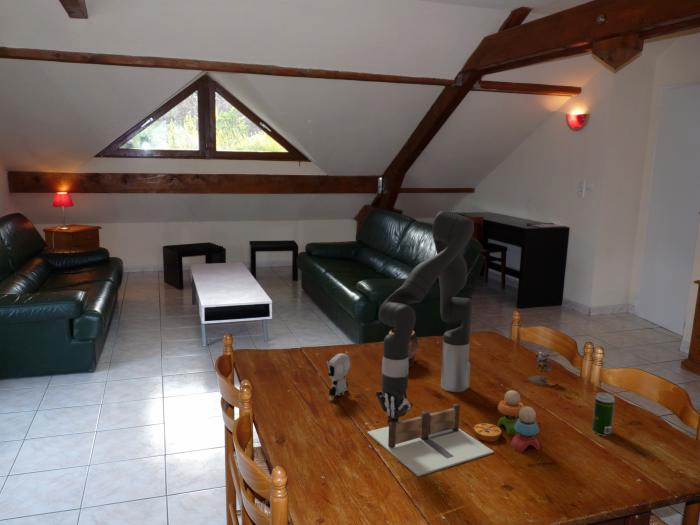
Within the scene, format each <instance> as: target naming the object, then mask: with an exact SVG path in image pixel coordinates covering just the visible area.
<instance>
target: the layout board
mask: <svg viewBox="0 0 700 525" xmlns="http://www.w3.org/2000/svg"><path fill="white" fill-rule="evenodd" d="M366 432H367V433H366V434H367V435H369V436H370V437H371V438H372V439H373V440H375V442H377V443H378V444H379V445H380V446H381V447H383V449H385V450H386V451H387V452H389V454H391V456H393V457H394V458H395V459H397V461H399V462H400V463H402V464H403V466H405V467H406V468H408V469H409V470H410V471H411V472H412V473H413V474H415V476H416V477H420V476H424V475H428V474H430V473H433V472H437V471H440V470H443V469H447V468H449V467H452V466H457V465H459V464H462V463H465V462H469V461H473V460H475V459H478V458H481V457H485V456H488V455H492V454H494V450H492V449H491V448H489V447H488V446H486V445H485V444H483V443H482V442H480V441H479V440H477V439H476V438H474V437H472V436H471V435H470V434H468V433H466V432H465V431H463V430H462V429H460V428H459V430H458V431H453V430H452V429H449V430H446V431H442V432H438V433H435V434H431V435H429V438H428V439H427V440H422V439H420V438H417V439H413V440H409V441H406V442H402V443H399V444H395V447H393V448H391V447H389V446H388V437H389V425H387V426H383V427H380V428H377V429H373V430H368V431H366Z"/></svg>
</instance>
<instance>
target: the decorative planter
mask: <svg viewBox="0 0 700 525" xmlns="http://www.w3.org/2000/svg"><path fill="white" fill-rule="evenodd" d="M394 333H395V328H391V329H390V331H388V335H389V334H394ZM418 349H419V341H418V337H417V335H416V332H415V331H414V330H413V331H412V335H411V338H410V341H409V348H408V362H409V368H411V367H412V366H413V365H414V363H415V359H416V354H417V351H418Z"/></svg>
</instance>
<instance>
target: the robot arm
mask: <svg viewBox="0 0 700 525" xmlns="http://www.w3.org/2000/svg"><path fill="white" fill-rule="evenodd" d="M474 230H475V223H474V221H473V220H472V219H471V218H468V217H466V216H464V215H461V214H459V213H455V212H453V211H450V210H441V211H438V213H437V214H436V215H435V217H434V220H433V223H432V230H431V231H432V238H433V243H434V246H435V247H434V248H435V251H436V252H435V253H436V254H435V255H434V256H432V257H430V258H428V259H426V260H424V261H422V262H420V263H419V264H417V265H416V266H415V267H414V268H413V269H412V270H411V272H409V274H408V276H407V277H406V279H405V280H404V282H403V283H402V285H401V286H400V287H399V288H397V289H396V290H395V291H394V292H393V293H391V294H390V295H389V296H388V297H387V298H386V299H385V300H384V301H383V302H382V304H381V306H380V308H379V311H378V317H379V321H380V322H381V323H382V324H384V325H386V326H389V327H392V328H393V329H395V333H394V334H389V333H388V334H387V335H385V337H384V339H383V349H382V352H383V354H382V360H381V381H380V382H381V387H382V388H381V390H378V391H376V392H375V395H376V397H377V399H378V402H379V404H380V407H381V409H382V411H383V412H386V415H387V426H389V422H390V421H394V422H399V418H401V417H404V416H405V415H406V414H407V413H408V412H409V411H410V410H411V409H412V408H413V406H414V405H413V403H412V402H409V401H408V398H407V397H408V395H407V389H408V387H409V368H410V367H409V362H408V348H409V341H410V338H411V335H412V331H414V328H415V325H416V321H417V320H416V319H417V316H416V312H415V310H414V308H413V307H412V306H411V304H419V303H421V302H422V301H423V300H424V298H425V297H426V296H427V294H428V292H429V291H430V289H431V287H432V286H433V284H434V283H435V282H436V281H437V279H438V284H439V292H440V294H439V295H440V297H439V298H440V300H439V301H440V304H439V307H440V308H439V310H440V311H439V312H440V318H441V321H443V323H444V322H445V323H448V324H459V325H460V326H458V327H457V328H454V329H450V330H447V331H445V332H444V333H443V335H442V353H441V354H442V355H441V375H440V387H441V388H442V390H444V391H446V392H452V393H460V392H461V393H462V392H464V391H467V389H470V378H471V377H470V376H471V375H470V374H471V362H470V361H469V355H470V354H469V353H470V341H471V340H470V339H471V338H470V337H471V336H470V334H471V321H472V315H473V302H472V300H471V298H469V297H459V296H455V295H456V294H458V293H459V292H460V291H461V290H462V289H463V288H464V286H466V284H467V281H468V264H467V262H466V259H465V258H464V257H463V254H462V253H461V252H462V251H463V249H464V248H465V247H466V246H467V245H468V243H469V241H470V240H471V238H472V236H473V234H474Z"/></svg>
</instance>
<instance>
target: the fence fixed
mask: <svg viewBox="0 0 700 525" xmlns="http://www.w3.org/2000/svg"><path fill="white" fill-rule="evenodd" d="M460 410H461V405H460V404H459V403H453V405H452V407H451V408H447V409H443V410H440V411H436V412H431V413H430V411H428V410H422V411H421V412H420V413H421V414H420V415H421V416H420V417H422V437H420V439H422V440H427V439H428V438H429V435H431V434H435V433H438V432H442V431H446V430H449V429H452V430H453V431H458V430H459V429H460V427H459V426H460V413H461V412H460Z"/></svg>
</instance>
